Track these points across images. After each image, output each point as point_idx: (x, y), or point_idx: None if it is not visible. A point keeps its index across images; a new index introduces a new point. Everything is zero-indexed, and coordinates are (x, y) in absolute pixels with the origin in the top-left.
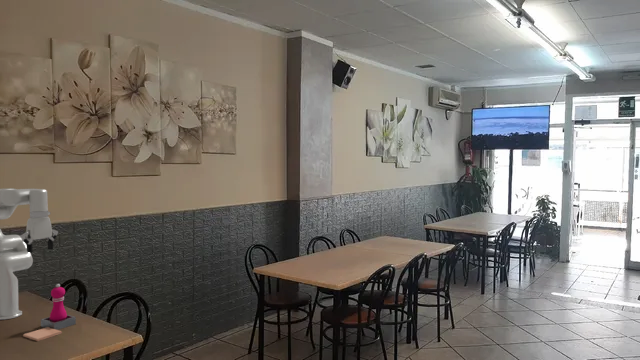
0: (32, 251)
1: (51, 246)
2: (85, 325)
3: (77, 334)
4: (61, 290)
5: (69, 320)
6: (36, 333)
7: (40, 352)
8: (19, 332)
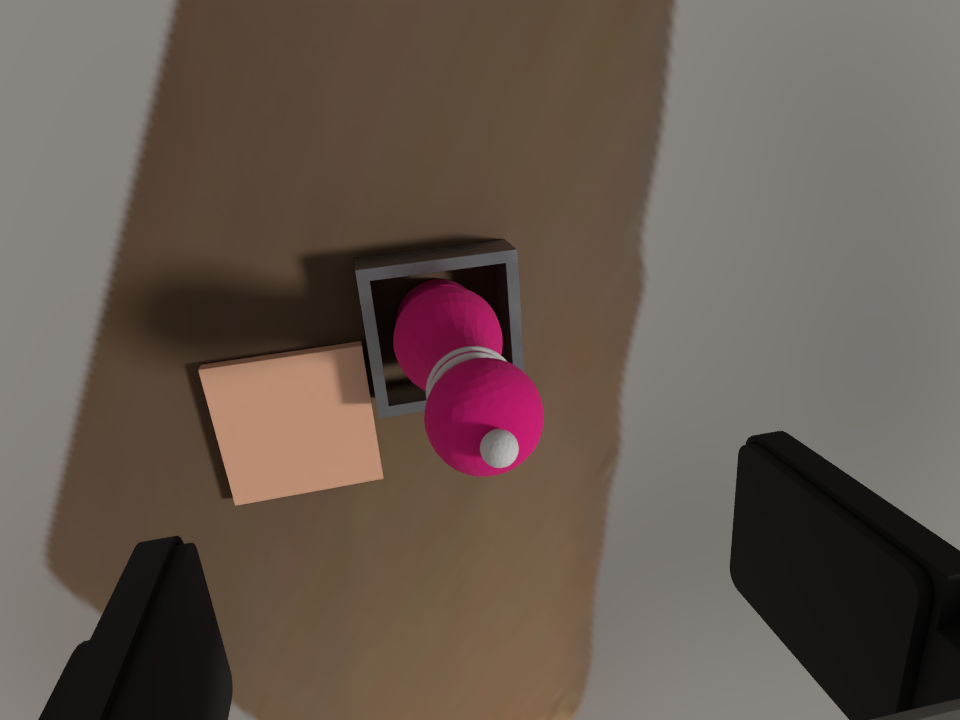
0: (227, 708)
1: (780, 633)
2: None
3: (428, 538)
4: (495, 474)
5: None
6: (264, 412)
7: None
8: (207, 263)
